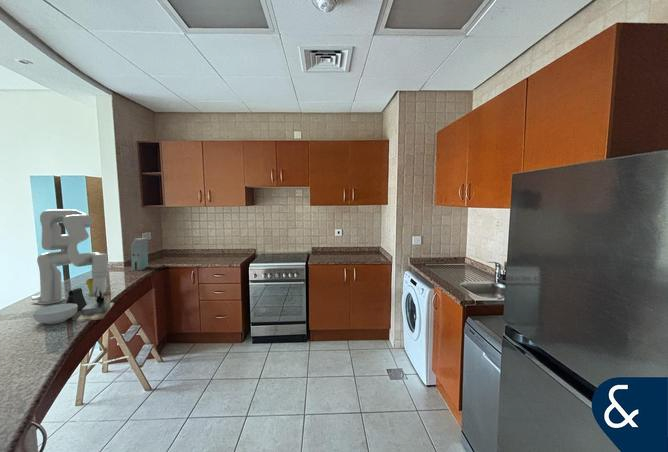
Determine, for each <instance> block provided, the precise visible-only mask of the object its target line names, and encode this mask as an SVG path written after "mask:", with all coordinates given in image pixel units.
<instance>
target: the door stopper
mask: <svg viewBox="0 0 668 452" xmlns="http://www.w3.org/2000/svg"><path fill="white" fill-rule="evenodd" d="M67 293H68V296H67V300H66V302H65V304H77V305H78V310H77V312H79V311H82V309H83V308H84V307H85V306H86V305H87V304H88V303H87V302H86V299H85V296H84V294H83V289H82V287H77V288H75V289H71V290H69V291H68V292H67Z"/></svg>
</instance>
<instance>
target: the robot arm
mask: <svg viewBox="0 0 668 452" xmlns="http://www.w3.org/2000/svg"><path fill="white" fill-rule="evenodd" d="M39 222H40V225H41V247H42V249H43V250H44V251H50V252H44V253H41V254H39V255H38V256H37V259H36V261H37V266H38V270H39V281H40V282H39V283H40V286H39V287H40V294H39V295H38V296H36V295H35V296H31V300H32V301H37V302H36V304H37V305H41V306H42V305H51V304H57V303H61V302H64V301H65V300H66V297H65V296H63V294H62V292H63V291H62V273H61V270H59V269H58V267H62V266H67V265H71V264H72V265H73V266H75V267H79V268H80V267H86V266H91V278H93V289H92V294H91V295H95V293H96V302H104V301H105V292H106V291H107V287H108V286H107V285H108V284H107V277H109V257H108V256H109V255H108V254H107V253H104V252H102V253H101V252H98V251H90V252H84V253H80V251H79V250H78V244H81V243H82V242H84V241H86V240H88V238H89V237H90V234H89V233H88V231H87V229H86V228H91V227H92V226H93V224H94V220H93V218H92V217H91V216H90V215H89V214H88V213H85V212H83V211H81V210H80V211H79V210H77V209H73V208H72V209H71V208H70V209H67V208H65V209H63V208H56V209H55V208H54V209H45V210H43V211H42V212H41V213H40V216H39ZM60 224H63V227H64V228H65V231H66V233H67V234H66V233H65V234H64V233H63V234H62V227H61V226H60ZM57 250H58V251H57ZM60 250H61V251H60Z"/></svg>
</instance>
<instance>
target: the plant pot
mask: <svg viewBox="0 0 668 452" xmlns="http://www.w3.org/2000/svg"><path fill="white" fill-rule="evenodd" d="M85 282H86V283H85V284H86V286H87V288H88V289H87V290H88V291H89V294H91V295H93V294H92V289H93V278H92V277H91V278H88V279H86V280H85ZM95 294H96V293H95ZM95 294H94V295H95ZM96 295H97V294H96Z"/></svg>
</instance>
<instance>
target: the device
mask: <svg viewBox="0 0 668 452" xmlns="http://www.w3.org/2000/svg"><path fill="white" fill-rule="evenodd" d="M148 243H149V238H148V237H139V238H138V237H137V238H134V239H133V242H132V243H131V245H130V247H131V250H130V251H131V255H130V257H131V262H130V263H131V271H142V270H145V269H146V267H147V268H148V267H149V246H148V245H149V244H148Z"/></svg>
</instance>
